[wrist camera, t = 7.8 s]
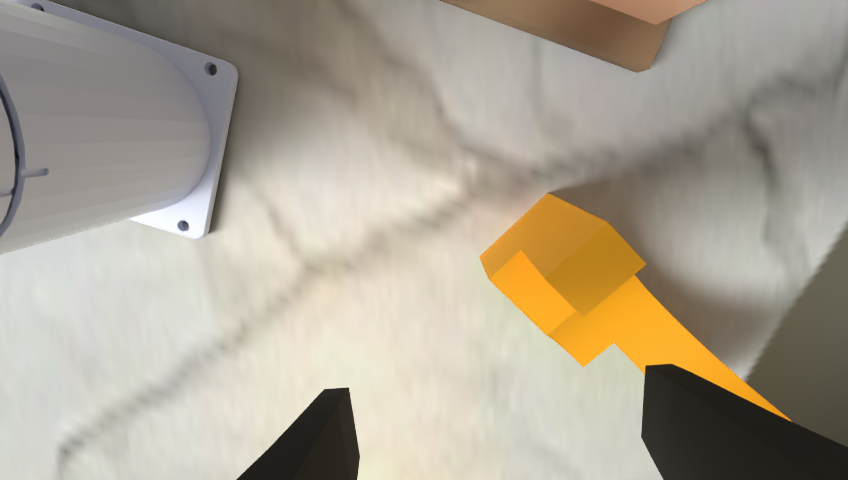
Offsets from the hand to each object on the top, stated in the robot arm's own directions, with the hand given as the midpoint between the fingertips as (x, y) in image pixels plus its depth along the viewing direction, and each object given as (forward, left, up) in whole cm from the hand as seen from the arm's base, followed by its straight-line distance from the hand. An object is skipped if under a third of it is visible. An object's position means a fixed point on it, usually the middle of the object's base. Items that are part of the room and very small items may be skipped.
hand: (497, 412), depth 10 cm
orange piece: (+7, 0, -10) cm, 12 cm away
